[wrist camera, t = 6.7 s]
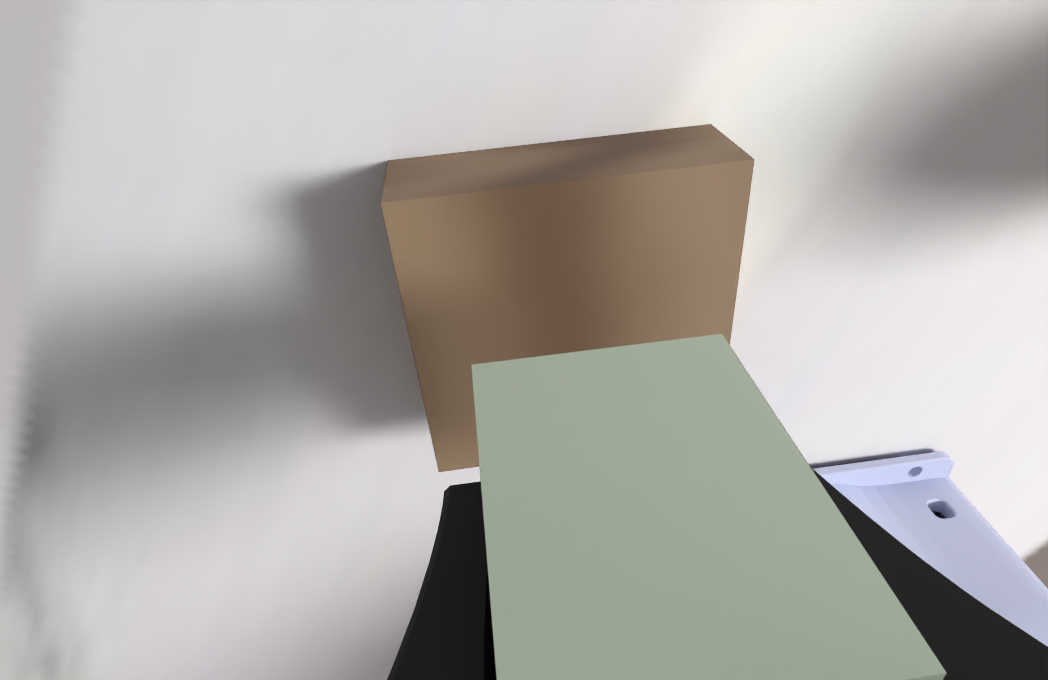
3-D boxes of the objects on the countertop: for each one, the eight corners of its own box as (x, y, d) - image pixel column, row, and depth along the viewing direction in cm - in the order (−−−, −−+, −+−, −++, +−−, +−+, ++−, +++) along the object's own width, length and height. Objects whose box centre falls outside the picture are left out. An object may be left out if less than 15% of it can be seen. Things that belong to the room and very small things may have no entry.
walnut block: (705, 119, 16) (754, 159, 14) (684, 369, 21) (718, 433, 18) (388, 155, 16) (380, 203, 13) (438, 402, 20) (438, 472, 18)
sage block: (722, 334, 11) (946, 673, 6) (699, 503, 14) (847, 839, 9) (471, 364, 11) (500, 742, 6) (495, 531, 13) (529, 893, 9)
